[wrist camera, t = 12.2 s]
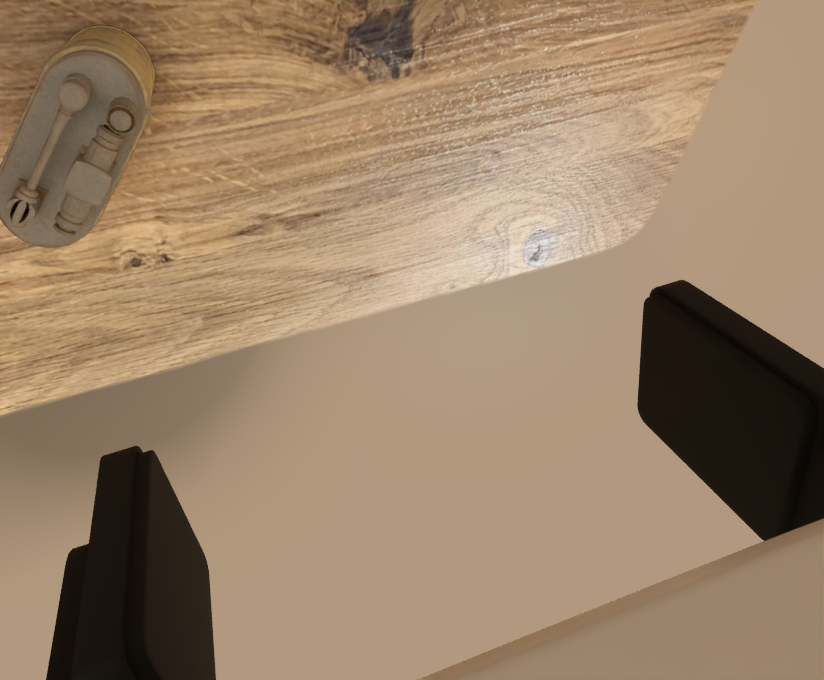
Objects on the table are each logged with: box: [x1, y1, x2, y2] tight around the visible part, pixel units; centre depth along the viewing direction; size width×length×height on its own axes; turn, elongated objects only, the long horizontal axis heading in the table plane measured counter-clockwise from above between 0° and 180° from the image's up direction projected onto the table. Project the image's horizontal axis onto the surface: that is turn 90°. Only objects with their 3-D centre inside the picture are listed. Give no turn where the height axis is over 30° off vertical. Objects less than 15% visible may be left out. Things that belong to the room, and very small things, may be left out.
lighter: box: [0, 25, 155, 248], centre depth 24 cm, size 7×4×10 cm, turn 145°
